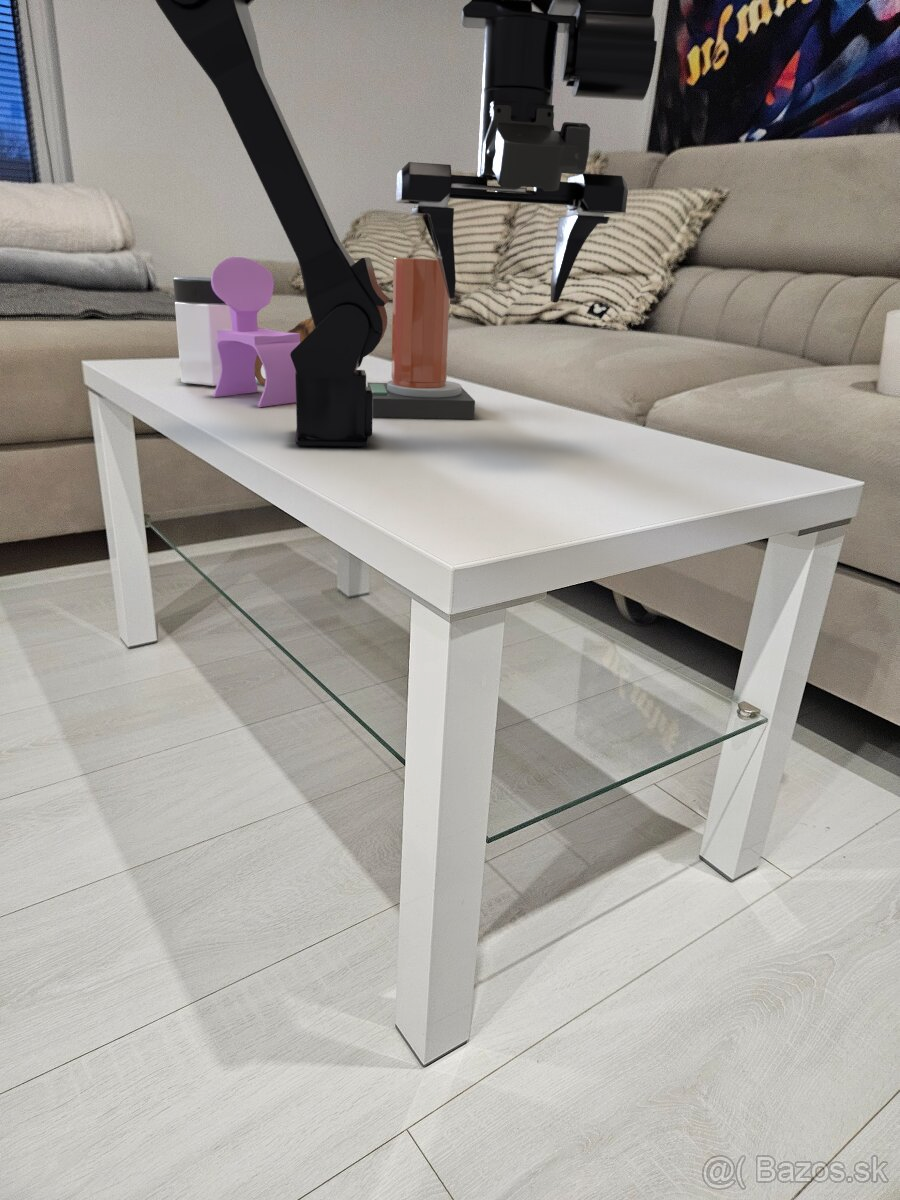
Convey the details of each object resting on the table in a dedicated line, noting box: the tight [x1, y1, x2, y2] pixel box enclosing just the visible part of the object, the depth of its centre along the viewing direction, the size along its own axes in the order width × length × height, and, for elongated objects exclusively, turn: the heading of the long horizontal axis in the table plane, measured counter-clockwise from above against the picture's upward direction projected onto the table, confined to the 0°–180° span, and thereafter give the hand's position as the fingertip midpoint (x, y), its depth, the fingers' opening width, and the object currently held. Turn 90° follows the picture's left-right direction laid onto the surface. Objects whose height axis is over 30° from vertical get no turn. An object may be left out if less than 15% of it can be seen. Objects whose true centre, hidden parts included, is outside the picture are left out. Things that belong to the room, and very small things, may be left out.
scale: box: [367, 379, 476, 420], centre depth 93 cm, size 11×11×3 cm
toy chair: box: [210, 256, 300, 408], centre depth 92 cm, size 8×9×15 cm
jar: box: [172, 276, 232, 387], centre depth 102 cm, size 9×8×12 cm
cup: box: [391, 257, 451, 388], centre depth 90 cm, size 6×6×13 cm
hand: (503, 300), depth 72 cm, fingers open, 9 cm apart
